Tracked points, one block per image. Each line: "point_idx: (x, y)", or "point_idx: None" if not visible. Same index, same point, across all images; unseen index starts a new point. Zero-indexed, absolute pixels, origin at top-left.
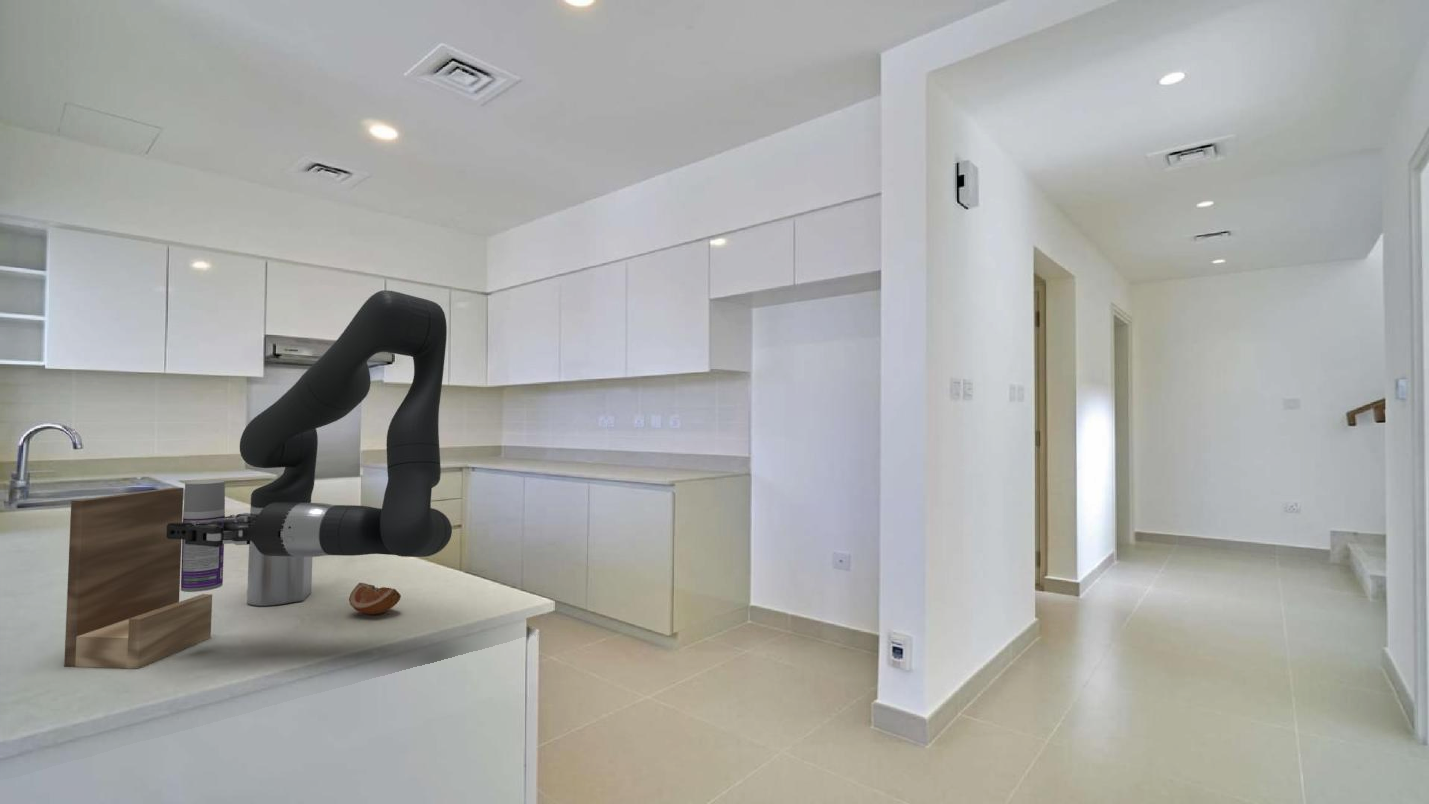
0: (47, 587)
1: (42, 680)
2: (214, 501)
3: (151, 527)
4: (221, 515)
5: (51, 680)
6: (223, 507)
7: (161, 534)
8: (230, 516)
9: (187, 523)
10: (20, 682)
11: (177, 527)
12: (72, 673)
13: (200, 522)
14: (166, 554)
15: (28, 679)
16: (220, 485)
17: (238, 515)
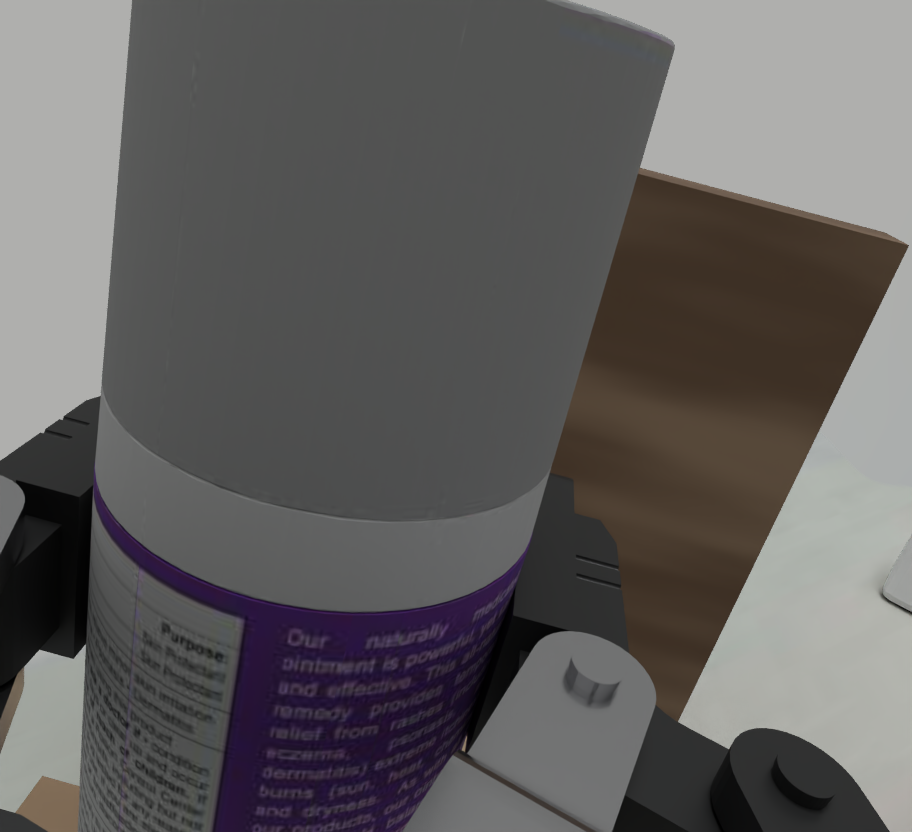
0: (815, 459)
1: (39, 713)
2: (185, 310)
3: (605, 392)
4: (286, 592)
5: (21, 738)
6: (368, 492)
7: (653, 456)
8: (549, 670)
9: (62, 445)
10: (52, 667)
11: (43, 434)
12: (79, 765)
13: (1, 516)
14: (648, 565)
15: (76, 674)
16: (342, 21)
17: (435, 787)
